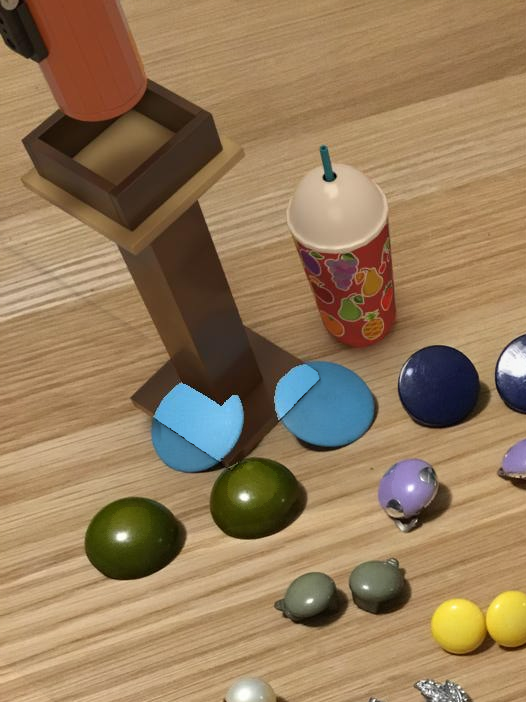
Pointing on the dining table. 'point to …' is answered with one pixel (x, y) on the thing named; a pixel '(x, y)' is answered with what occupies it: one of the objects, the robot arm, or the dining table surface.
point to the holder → (165, 243)
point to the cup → (89, 57)
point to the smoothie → (345, 250)
